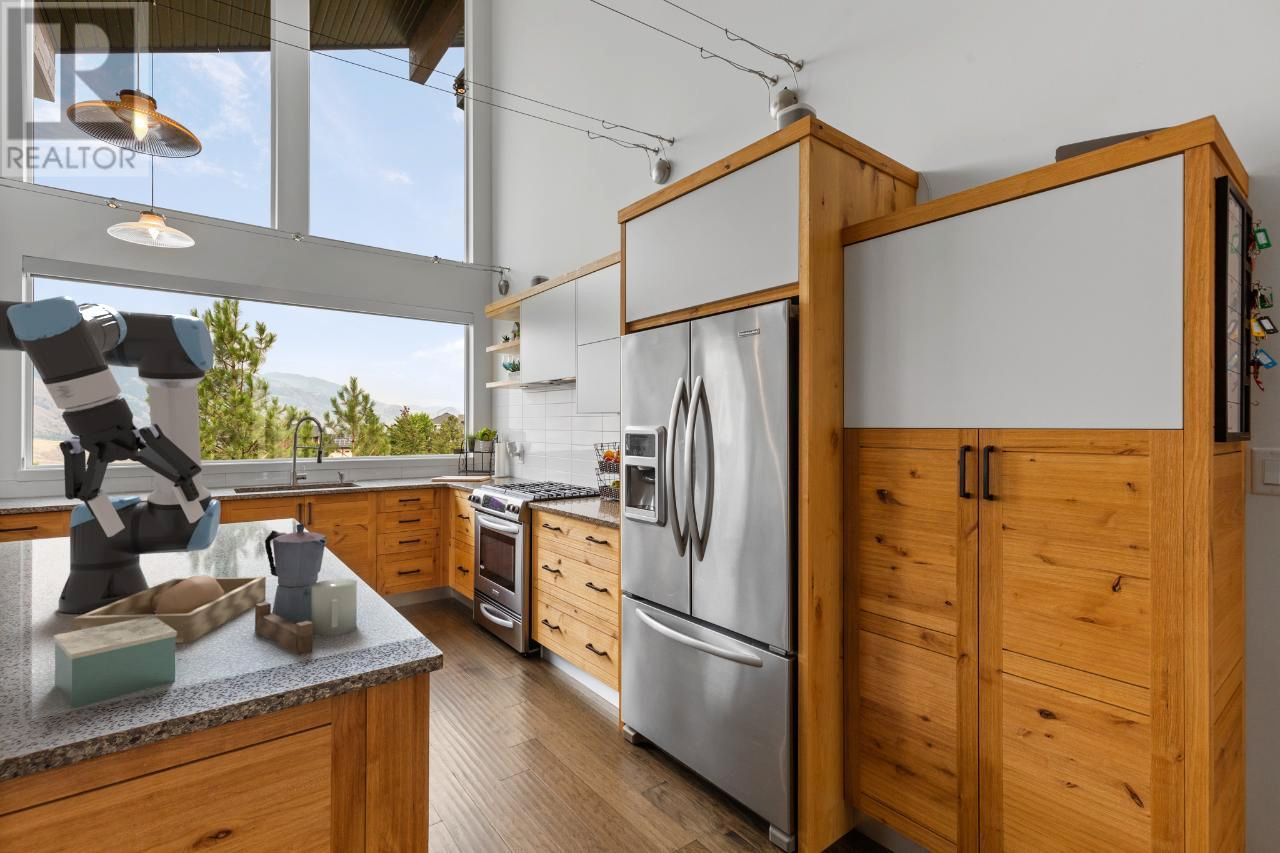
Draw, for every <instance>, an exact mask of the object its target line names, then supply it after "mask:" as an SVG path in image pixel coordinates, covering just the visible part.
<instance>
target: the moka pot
mask: <svg viewBox="0 0 1280 853" xmlns="http://www.w3.org/2000/svg"><path fill="white" fill-rule="evenodd" d="M304 530H305V524H303V523H298V524H296V531H293V532H290V533H287V532H278V531H277V530H271V532H270V534H268V536H266V538H265V539H264V544H265V546H264V547H265V552H266V555H267V559H268V563H269V569H270V570H269V571H270V574H271V575H272V576H274V577H277V584H278V585H277V587H276V590H275V591H276V592H275V597H274V601H273V607H272V611H271V613H273V614H275V615H277V616H279V617H281V618H283V619H285V620H288V621H290V622H292V623H294V624H296V623H300V622H304V621H310V622H311V593H312V585H313V584H315V583H317V582H318V581H319V580H318V579H319V573H320V572H321V569H322V563H323V558H324V553H325V552H324V551H325V547H326V545H327V544H328V541H327V536H326V535H324V534H321V533H318V532H312V531H304ZM271 541H272V545H271ZM272 546H273V549H272ZM272 550H273V551H272ZM273 555H274V556H273Z"/></svg>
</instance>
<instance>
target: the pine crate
mask: <svg viewBox="0 0 1280 853" xmlns="http://www.w3.org/2000/svg"><path fill="white" fill-rule="evenodd" d="M187 578H188V577H187ZM187 578H181V577H180V578H178V577H177V578H173V579H170V580H167V581H164V582H162V583H160V584H157V585H154V586H152V587H149V589H147V590H144V591H142V592H139V593H137V594H134V595H132V596H129V597H126V598H124V599H121V600H119V601H116V602H114V603H111V604H109V605H106V606H104V607H101V608H99V609H96V610H94V611H91V612H89V613H83V614H81V615H79V616H76V617H73V631H78V630H83V629H88V628H93V627H98V626H103V625H109V624H114V623H119V622H124V621H129V620H135V619H140V618H145V617H150V616H155V617H156V618H158V619H159V620H160V621H162V622H163V623H165V624H166V625H168V626H169V627H171V628H172V629H174V630H175V631H177V636H175V644H180V643H184V642H186V643H192V642H194V641H195V640H196V639H198V638H200V637H202V636H204V635H206V634H207V633H209V632H211V631H213V630H214V629H216V628H217V626H218V627H219V626H221V625H222V623H223V624H224V623H226V622H227V620H228V621H229V619H230V620H231V619H233V618H235V617H236V616H238V615H239V613H240V614H241V613H244V611H247V610H249V609H250V608H252V607H253V606H255V604H259V603H261V602H262V601H264V600H265V599H266V587H267V586H266V585H267V584H266V580H267V578H266V576H249V577H248V576H241V577H240V576H239V577H237V576H235V577H214V578H215V579H216V581H217V582H218V583H219V585H220V586H221V588H222V589H223V590H224V595H223V596H221V597H220V598H218V599H215V600H213V601H211V602H209V603H207V604H205V605H203V606H201V607H199V608H197V609H195V610H193V611H191V612H189V613H185V614H156V613H155V610H154V609H153V608H152V607H151V605H152V601H153V598H154V597H155V595H157V594H159V593H161V592H164V591H166V590H168V589H169V588H171V587H173V586H175V585H177V584H179V583H180V582H182V581H183V580H185V579H187ZM263 599H264V600H263ZM258 602H259V603H258ZM251 606H252V607H251ZM246 609H247V610H246ZM153 612H154V614H153ZM237 614H238V615H237ZM234 616H235V617H234ZM232 617H233V618H232ZM220 624H221V625H220ZM205 633H206V634H205ZM184 644H185V643H184Z"/></svg>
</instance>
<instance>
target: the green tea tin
mask: <svg viewBox="0 0 1280 853" xmlns="http://www.w3.org/2000/svg"><path fill="white" fill-rule="evenodd" d="M175 636H177V631H175V630H174V629H172V628H171V627H169V626H168V625H166V624H165V623H163V622H162V621H160V620H159V619H158V618H156V617H155V616H150V617H145V618H140V619H135V620H129V621H124V622H119V623H114V624H109V625H103V626H98V627H93V628H88V629H83V630H78V631H74V630H73V631H67V632H63V633H57V634H53V641H54V645H55V646H54V687H55V686H56V687H55V688H56V690H57V689H58V690H59V691H58V690H57V691H58V693H61V694H60V695H61V697H62V698H63V699H64V701H65V700H66V701H65V702H66V703H67V705H68V706H69V708H70V709H71V710H73V708H74V709H77V708H81V707H83V706H88V705H92V704H95V703H99V702H103V701H106V700H110V699H115V698H118V697H122V696H125V694H126V695H129V694H133V692H134V693H137V692H140V691H144V690H148V688H149V689H151V688H155V687H159V686H163V685H167V684H170V683H174V682H176V643H175ZM121 695H122V696H121Z"/></svg>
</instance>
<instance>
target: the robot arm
mask: <svg viewBox="0 0 1280 853" xmlns="http://www.w3.org/2000/svg"><path fill="white" fill-rule="evenodd" d="M0 351H5V352H6V351H8V352H9V351H11V352H25V353H26V354H27V355H28V357H29V359H30V360H31V363H32V364H33V366H34V368H35V370H36V371H37V373H38V374H39V376H40V378H41V381H42V382H43V385H44V387H46V389H47V391H48V393H49V394H50V397H51V398H52V400H53V402H54V404H55V405H56V407H57V408H58V409H60V410H64V411H63V412H62V415H61V417H62V419H63V420H64V423H65V424H66V426H67V428H68V429H69V431H70V434H72V437H70V438H69V439H66V440H64V441H61V442H60V443H59V449H60V450H61V453H62V455H63V465H64V466H63V468H64V492H65V493H64V495H65V498H66V499H68V500H70V501H71V500H74V499H76V500H77V499H79V500H80V501H81V502H84V503H81V504H78V505H76V506H74V507H73V509H72V510H71V512H70V524H69V526H68V529H69V546H70V547H69V555H70V556H69V563H70V564H69V573H68V577H67V579H66V582H65V584H64V587H63V588H62V591H61V594H60V596H59V599H58V611H59V612H61V613H65V614H86V613H89V612H91V611H94V610H96V609H99V608H101V607H104V606H106V605H109V604H111V603H114V602H116V601H119V600H121V599H124V598H126V597H129V596H132V595H134V594H137V593H139V592H142V591H144V590H147V589H149V588H150V587H149V585H148V583H147V579H146V577H145V575H144V572H143V570H142V568H141V564H140V557H141V555H149V554H150V555H151V554H168V553H169V554H170V553H189V552H196V551H197V552H198V551H204V550H207V549H209V548H210V547H211V546H212V545H213V543H214V542H215V539H216V536H217V533H218V529H219V526H220V520H221V512H222V508H221V501H220V500H218V499H215V498H214V499H212V495H211V494H212V493H211V490H210V489H208V488H207V487H205V486H204V485H203V477H202V476H203V473H202V471H203V470H202V457H201V456H202V454H201V434H200V417H199V416H200V413H199V392H198V384H199V383H200V382H202V380H204V379H205V377H206V372H207V371H210V370H212V368H213V366H214V363H215V361H214V356H215V353H214V352H215V351H214V345H213V342H212V337H211V334H210V331H209V329H208V326H207V325H206V323H204V321H203V320H201V318H198V317H195V316H191V315H190V316H188V315H182V314H181V315H180V314H176V313H175V314H171V313H154V312H153V313H149V312H133V311H132V312H131V311H130V312H129V311H123V310H120V311H119V310H116V309H114V308H112V307H111V306H108V305H105V304H102V303H89V302H88V303H86V302H85V303H82V304H77V303H76V301H75V300H74V299H73V298H72V297H70V296H67V295H63V296H57V297H49V298H46V299H45V298H44V299H40V300H34V301H12V300H10V301H9V300H1V299H0ZM109 366H114V367H123V368H125V367H126V368H137V369H138V370H137V372H138V378H139V379H141V380H142V381H143V382H145V383H146V384H147V385H148V387H147V388H148V398H149V399H148V401H149V415H150V424H147V425H146V426H145V425H144V426H143V427H141V428H138V427H137V426H136V425H135V424H134V422H133V418H134V414H133V412H132V410H131V408H130V406H129V404H128V402H127V400H126V399H125V397H123V396H122V395H121V396H119V394H121V392H122V390H121V388H120V386H119V384H118V383H117V380H116V379H115V377H114V375H113V373H112V371H111V369H110V367H109ZM86 452H88V453H89V454H88V456H87V459H86ZM86 460H87V461H86ZM127 460H131V462H138V463H140V464H141V465H144V466H145V467H147V468H149V469H150V470H152V471H153V476H154V488H155V489H154V490H153V491H152V492H151V493H150V494H148V495H147V498H146V501H145V502H144V501H142V498H141V497H140V496H139V495H135V496H134V495H130V496H121V497H114V498H110V497H109V496H108V494H107V493H106V492H103V490H102V489H101V487H102V484H103V481H104V478H105V474H106V472H107V469H108V468H107V467H108V465H109V464H111V463H114V462H116V461H118V462H120V461H121V462H122V461H127ZM86 465H87V466H86Z"/></svg>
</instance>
